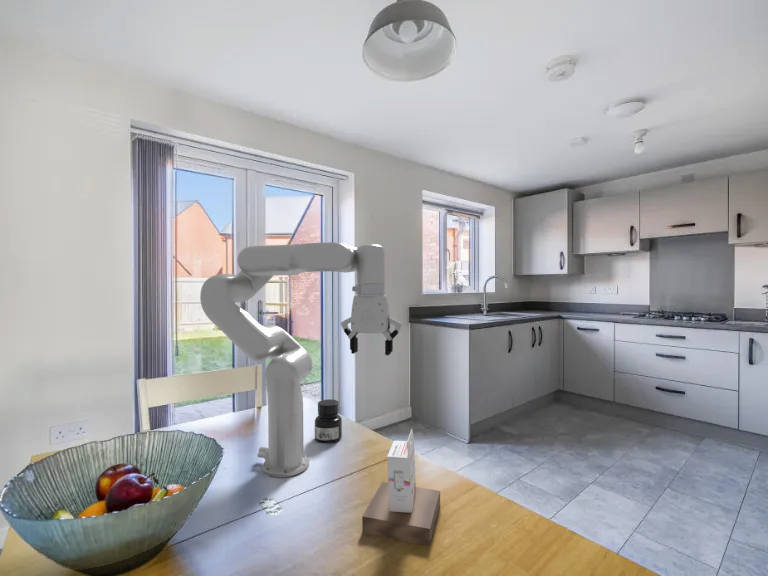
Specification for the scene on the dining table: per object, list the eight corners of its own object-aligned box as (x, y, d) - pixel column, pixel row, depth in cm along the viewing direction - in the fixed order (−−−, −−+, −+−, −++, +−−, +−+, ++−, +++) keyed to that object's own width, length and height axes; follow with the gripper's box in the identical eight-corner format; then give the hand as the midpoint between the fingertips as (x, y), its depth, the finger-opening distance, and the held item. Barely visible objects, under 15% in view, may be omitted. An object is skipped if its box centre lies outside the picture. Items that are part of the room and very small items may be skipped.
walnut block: (362, 535, 77) (362, 516, 77) (382, 498, 91) (382, 481, 91) (429, 549, 73) (429, 528, 73) (440, 508, 87) (440, 490, 87)
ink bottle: (309, 442, 121) (308, 405, 121) (320, 432, 130) (319, 397, 130) (337, 445, 119) (337, 407, 119) (346, 434, 128) (346, 399, 127)
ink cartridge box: (395, 490, 87) (392, 426, 87) (416, 491, 86) (414, 427, 86) (388, 512, 79) (385, 442, 78) (411, 514, 78) (409, 443, 78)
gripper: (335, 290, 100) (336, 354, 101) (398, 290, 95) (398, 357, 96) (346, 290, 108) (346, 349, 108) (405, 290, 103) (405, 352, 103)
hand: (371, 353), depth 102 cm, fingers open, 9 cm apart
